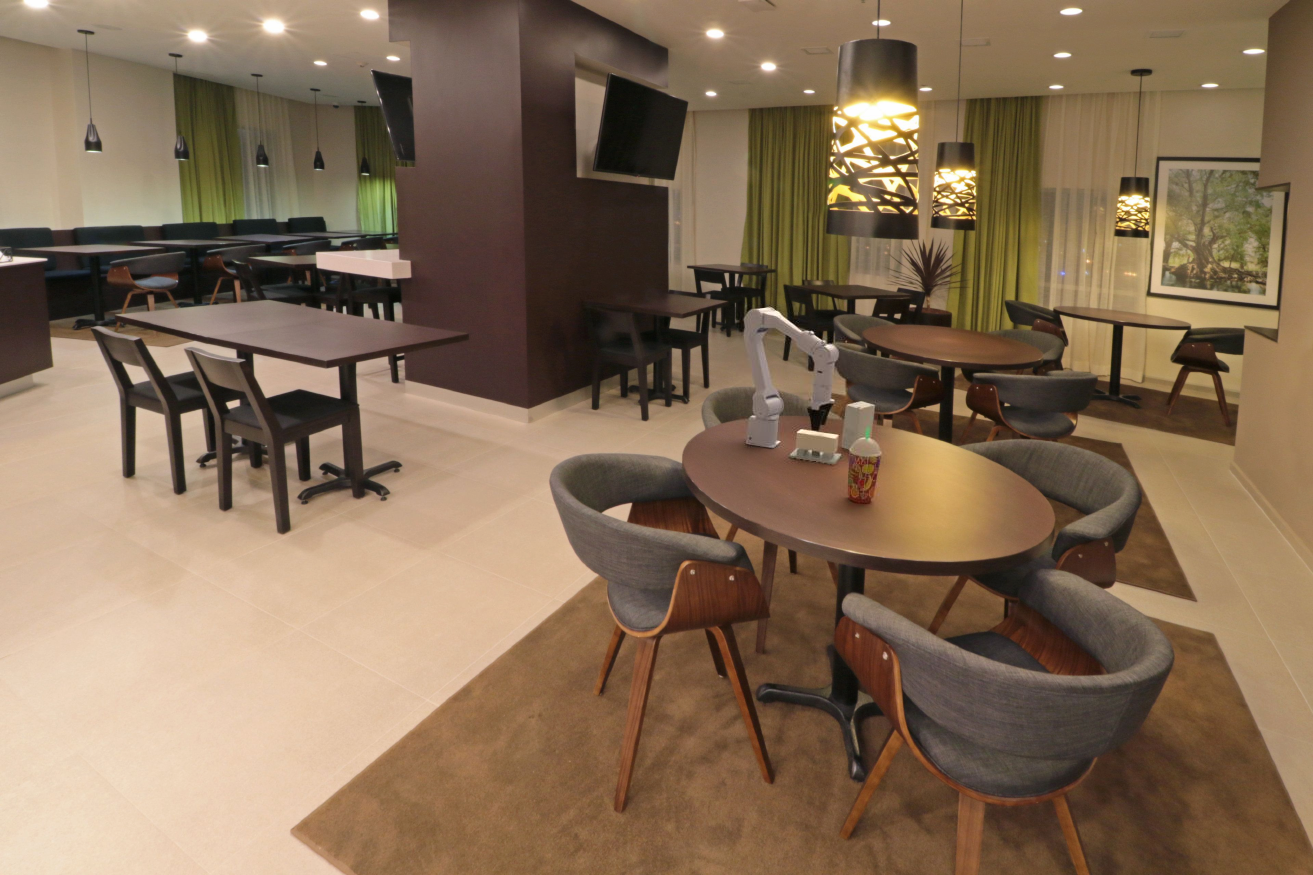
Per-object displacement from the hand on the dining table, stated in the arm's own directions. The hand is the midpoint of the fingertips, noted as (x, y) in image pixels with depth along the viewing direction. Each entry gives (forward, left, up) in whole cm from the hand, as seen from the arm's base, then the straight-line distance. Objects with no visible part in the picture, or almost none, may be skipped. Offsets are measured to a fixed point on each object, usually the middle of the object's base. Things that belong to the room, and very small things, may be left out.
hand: (818, 427), depth 244 cm
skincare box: (+9, +17, -10) cm, 22 cm away
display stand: (0, 0, -10) cm, 10 cm away
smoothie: (+20, -31, -10) cm, 38 cm away
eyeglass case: (0, 0, -7) cm, 7 cm away
